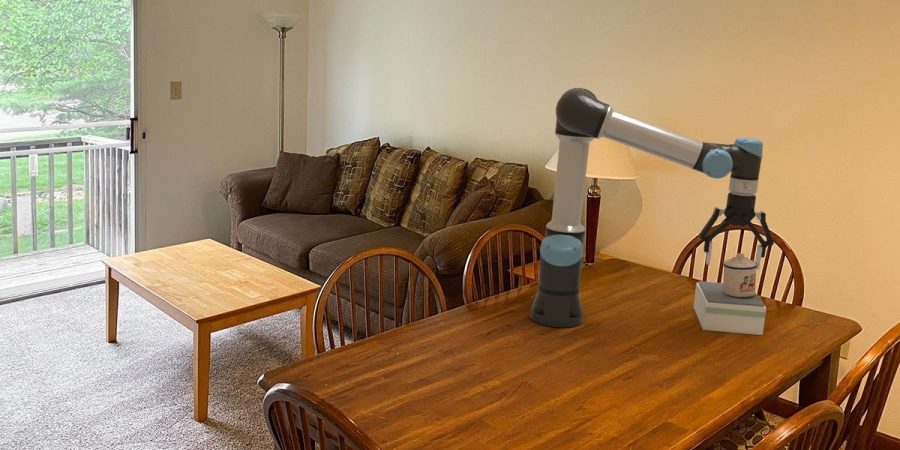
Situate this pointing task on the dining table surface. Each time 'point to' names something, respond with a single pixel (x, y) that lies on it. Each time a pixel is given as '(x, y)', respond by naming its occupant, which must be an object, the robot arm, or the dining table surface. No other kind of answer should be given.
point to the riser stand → (728, 310)
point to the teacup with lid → (739, 276)
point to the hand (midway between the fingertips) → (732, 265)
